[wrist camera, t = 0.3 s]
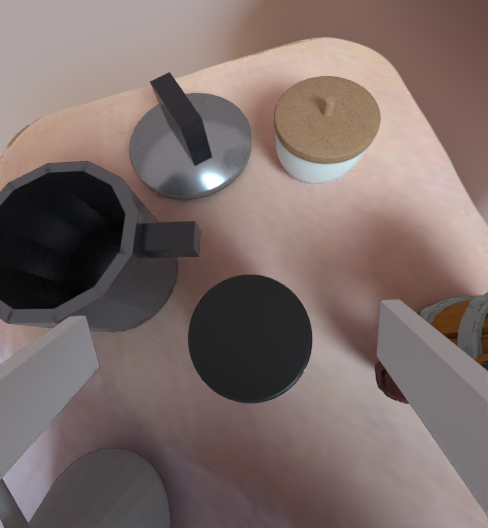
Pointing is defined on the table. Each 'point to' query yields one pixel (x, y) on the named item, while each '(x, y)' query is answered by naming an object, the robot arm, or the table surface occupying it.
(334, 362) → the table surface
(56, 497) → the coffee pot
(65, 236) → the pot
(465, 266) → the table surface
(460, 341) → the mug
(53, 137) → the table surface
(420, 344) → the robot arm
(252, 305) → the jar
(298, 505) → the table surface
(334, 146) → the lidded jar
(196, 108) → the lid
